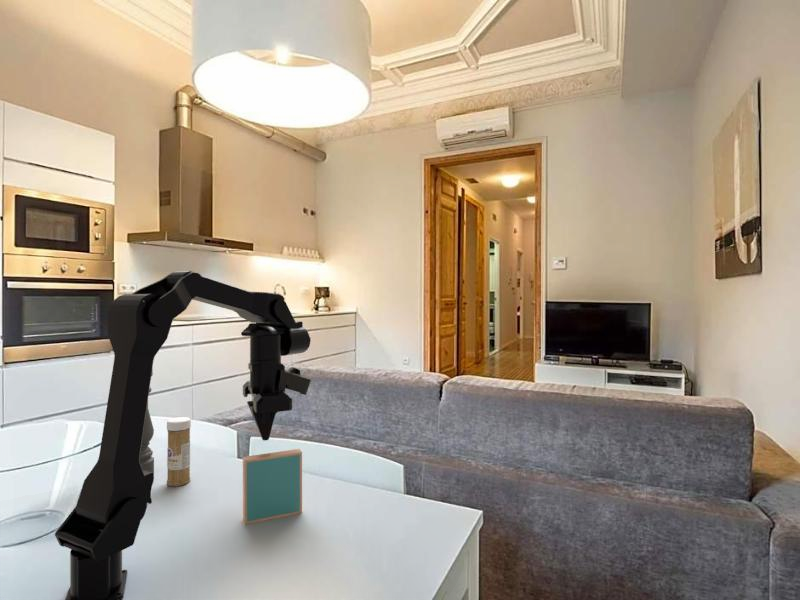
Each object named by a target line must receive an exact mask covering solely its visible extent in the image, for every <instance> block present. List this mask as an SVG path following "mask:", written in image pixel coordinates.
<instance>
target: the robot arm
mask: <svg viewBox="0 0 800 600" xmlns="http://www.w3.org/2000/svg"><path fill="white" fill-rule="evenodd" d="M192 300H193V301H196V302H199V303H203V304H208V305H211V306H215V307H218V308H223V309H226V310H229V311H233V312H235V313H237V315H238V316H239V317H240V318H242V319H244V320H245V321H248V322H249V324H248V326H247V327H246V328H244V329H243V330H242V331H241V332H240V333H241V334H240V335H241V336H242V337H249V363H248V367H247V368H248V370H249V380H247V381H246V382H244V384H242V396H243V397H244V398H248V396H249V395H250V396H251V400H250V401H247V402H246V403H247V406H248V408H249V411H250V412H251V415H252V418H253V421H254V423H255V425H256V428H257V429H258V432H259V434H260V437H261V439H262V441H268V440H269V439H270V437H271V431H272V427H273V425H274V422H275V417H276V415H277V414H278V413H280V412H288V411H291V410H293V398H291V397H290V396H289V395H288V394H287V393H285V392H286V390H291V391H293V392H297V393H299V394H300V395H303V396H306V395H307V394H308V390H309V388H310V384H311V381H312V378H309V377H307V376H305V375H303V374H302V373H301V369H300V368H297V367H294V366H291V367H290V368H289V369H286V367H285V365H284V364H283V363H282V356H284V357H285V356H290V355H291V356H292V355H297V354H303V353H305V352H307V351H308V350H309V347H311V346H310V345H311V337H310V333H309V332H308V330H307V329H306V328H305V327H304V326H303V324H304V323H303V321H298V320H297V321H296V320H295V318H294V316H293V314H292V311H291V309H290V308H289V307H288V304H287V302H286V301H285V300H286V299H285V296H283V295H282V294H280V293H275V292H267V291H266V292H264V291H263V292H262V291H250V290H246V289H243V288H241V287H238V286H234V285H232V284H228V283H225V282H223V281H219V280H218V279H213V278H210V277H208V276H205V275H201V274H200V273H199V272H196V271H195V270H194V271H193V270H181V271H173V272H170V274H167V275H165V276H164V277H163V278H161V279H160V280H157V281H155V282H153V283H151V284H149V285H146V286H143V287H141V288H139V289H138V290H136V291H134V292H133V293H125V294H121V295H119V296H117V297H115V299H113V300H111V301H110V303H109V305H108V308H107V311H106V312H107V313H106V316H107V317H106V318H107V319H106V321H107V322H106V323H107V324H106V325H107V336H108V340H109V341H110V345H111V347H112V348H111V349H112V351H113V355H114V359H113V366H112V371H111V378H110V384H109V391H108V397H107V403H106V410H105V411H106V412H105V418H104V424H103V429H102V430H103V431H102V436H101V442H100V449H99V455H98V456H99V457H98V458H97V461H96V463H95V465H94V466H93V468H92V469H91V471H90V472H89V473H88V475H87V476H86V477H85V479H84V480H83V483H82V486H81V489H80V492H79V495H78V499H77V501H76V506H75V507H74V508H73V509H72V511H71V512H70V513H69V515H68V516H67V517H66V518H65V520H64V521H63V522H62V523H61V525H60V526H59V527H58V529H57V530H56V531H55V532H54V537H55V538H56V541H57V543H58V545H59V547H63V548H64V547H65V548H68V549H70V552H69V555H70V559H69V561H70V563H69V564H70V565H69V567H70V568H69V569H70V571H69V572H70V574H69V576H70V580H69V581H70V586H69V588H68V591H67V594H66V597H65V599H64V600H121V599H123V598H124V595H125V589H126V584H127V578H128V569H123V551H124V550H126V549H128V548H130V547H132V546H133V545H134V544H135V540H136V537H137V534H138V532H139V531H138V530H139V527H140V525H141V521H142V520H143V519H144V517H145V514H146V511H147V507H148V504H149V505H151V504H152V503H153V501H152V488H153V485H154V480H155V473H154V474H153V473H152V472H148V471H144V470H142V467H141V464H140V451H141V444H142V437H143V430H144V423H145V416H146V409H147V402H148V403H149V395H150V393H149V388H151V387H150V386H151V380H152V376H151V374H152V367H153V366H154V360H155V357H156V356H157V354H158V352H159V351H160V349H162V347H163V345H164V344H165V342H166V341H167V340H168V337H169V334H170V330H171V327H172V323H173V320H174V319H175V318H177V317H178V316H179V315H180V314H182V313H184V311H186V310H187V309H188V307H189V305H190V304H191V302H192Z"/></svg>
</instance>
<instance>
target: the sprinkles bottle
mask: <svg viewBox="0 0 800 600" xmlns="http://www.w3.org/2000/svg"><path fill="white" fill-rule="evenodd" d="M191 423H192V422H191V418H190V417H188V416H179V417H172V418H170V419H167V421H166V430H167V455H166V457H167V458H166V460H167V461H166V466H167V467H166V468H167V478H166V479H167V480H166V484H167V485H168V486H170V487H179V486H183V485H185V484H188V483H189V482H190V481H191V476H190V474H191V473H190V472H191V426H192V424H191Z"/></svg>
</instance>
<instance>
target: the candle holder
mask: <svg viewBox="0 0 800 600" xmlns="http://www.w3.org/2000/svg"><path fill="white" fill-rule="evenodd" d="M153 371H154V370H153V367H152V374H151V377H153V375H154V373H153ZM151 392H152V388H151V387H150V388H149V394H150V393H151ZM154 433H155V429H154V425H153V421H152V418H151V413H150V410H149V401H148V402H147V409H146V416H145V423H144V430H143V437H142V444H141V451H140V464H141V467H142V470H144V471H148V472H152V473H153V474H154V475H155V457H153V453H154V451H153V450H152V448H150V446H149V445H150V442H151V441H152V439H153V436H154Z"/></svg>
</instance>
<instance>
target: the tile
mask: <svg viewBox="0 0 800 600" xmlns="http://www.w3.org/2000/svg"><path fill="white" fill-rule="evenodd" d="M302 513H303V451H302V450H301V448H297V449H296V448H295V449H289V450H283V451H282V450H281V451H277V452H269V453H268V452H267V453H261V454H260V453H259V454H254V455H246V456H242V520H243V524H244V525H248V524H252V523H258V522H263V521H267V520H273V519H278V518H282V517H287V516H291V515H297V514H302Z"/></svg>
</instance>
